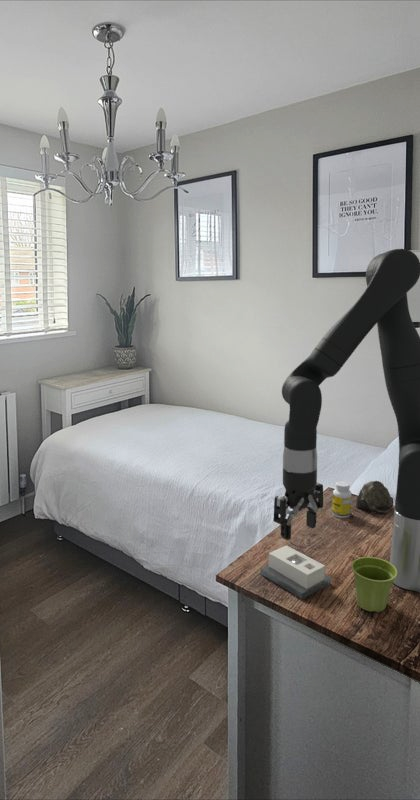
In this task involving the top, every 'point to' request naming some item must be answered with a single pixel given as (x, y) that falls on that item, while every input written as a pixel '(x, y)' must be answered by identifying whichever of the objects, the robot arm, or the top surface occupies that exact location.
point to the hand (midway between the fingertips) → (298, 532)
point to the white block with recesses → (297, 566)
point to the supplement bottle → (341, 500)
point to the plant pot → (373, 582)
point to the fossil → (375, 498)
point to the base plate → (292, 585)
